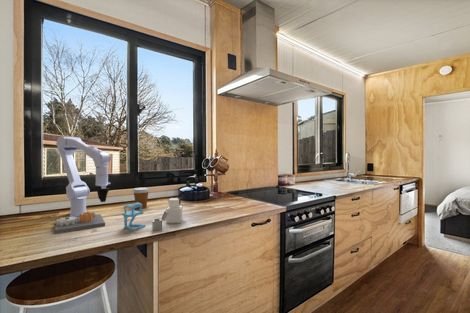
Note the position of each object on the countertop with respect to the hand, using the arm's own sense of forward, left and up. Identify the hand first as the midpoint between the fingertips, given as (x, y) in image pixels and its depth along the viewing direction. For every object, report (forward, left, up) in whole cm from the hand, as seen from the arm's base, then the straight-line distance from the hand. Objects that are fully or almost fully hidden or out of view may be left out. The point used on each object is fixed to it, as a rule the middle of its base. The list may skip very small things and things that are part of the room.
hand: (102, 200), depth 125 cm
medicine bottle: (+26, +30, -10) cm, 41 cm away
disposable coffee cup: (-12, +23, -10) cm, 28 cm away
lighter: (+34, +20, -10) cm, 41 cm away
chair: (+25, +10, -10) cm, 29 cm away
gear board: (+6, -10, -9) cm, 15 cm away
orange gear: (+6, -8, -8) cm, 12 cm away
